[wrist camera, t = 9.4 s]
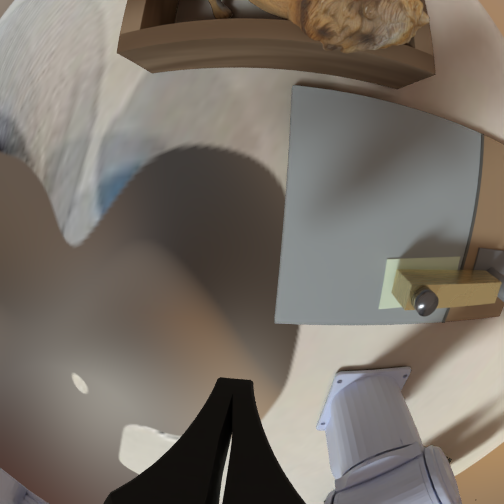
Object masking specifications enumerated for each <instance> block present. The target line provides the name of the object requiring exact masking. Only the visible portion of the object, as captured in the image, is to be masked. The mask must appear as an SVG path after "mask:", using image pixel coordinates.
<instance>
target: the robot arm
mask: <svg viewBox="0 0 504 504" xmlns="http://www.w3.org/2000/svg"><path fill="white" fill-rule="evenodd" d="M410 373H411V368H410V367H399V368H388V369H376V370H361V371H341V372H338V373H337V374H336V375H335V377H334V380H333V383H332V386H331V389H330V392H329V394H328V397H327V400H326V403H325V405H324V408H323V411H322V413H321V416H320V418H319V421H318V423H317V426H316V429H317V430H320V431H321V430H325V433H326V439H327V446H328V453H329V460H330V468H331V472H332V474H333V476H334V478H335V479H336V480H335V487H336V489H335V490H333V491H331V492H330V493H329V494H328V496H327V498H326V501H325V503H324V504H462V502H461V498H460V495H459V491H458V486H457V483H456V480H455V477H454V474H453V471H452V469H451V466H450V464H449V462H448V460H447V458H446V456H445V454H444V452H443V451H442V449H441V448H440V447H437V446H433V445H430V446H428V447H426V448H425V447H424V446H423V444H422V441H421V438H420V436H419V433H418V431H417V428H416V426H415V423H414V421H413V418H412V416H411V414H410V411H409V409H408V406H407V404H406V402H405V399H404V397H403V395H402V393H401V390H402V388H403V386H404V384H405V382H406V380H407V378H408V377H409V375H410ZM338 380H339V381H338ZM231 435H232V445H231V452H230V458H229V465H228V472H227V478H226V485H225V491H224V497H223V503H222V504H306V503H305V502H304V501H303V499H302V498H301V497H300V495H299V494H298V493H297V491H296V490H295V489H294V487H293V486H292V484H291V483H290V481H289V480H288V478H287V477H286V475H285V473H284V472H283V470H282V468H281V466H280V465H279V463H278V461H277V459H276V457H275V455H274V453H273V451H272V449H271V447H270V444H269V442H268V440H267V437H266V435H265V432H264V429H263V427H262V424H261V420H260V417H259V414H258V410H257V406H256V402H255V397H254V389H253V381H251V380H243V379H230V378H221V377H220V378H218V379H217V382H216V384H215V387H214V389H213V391H212V393H211V394H210V396H209V398H208V400H207V401H206V403H205V405H204V406H203V408H202V409H201V411H200V412H199V414H198V415H197V417H196V418H195V420H194V421H193V422H192V424H191V425H190V426H189V428H188V429H187V430H186V431H185V433H184V434H183V435H182V436H181V437H180V439H179V440H178V441H177V442H176V443H175V444H174V445H173V446H172V447H171V448H170V449H169V450H168V451H167V452H166V453H165V454H164V455H163V456H162V457H161V458H160V459H159V460H157V461H156V462H155V463H154V464H153V465H152V466H150V467H149V468H148V469H146V470H145V471H144V472H142V473H141V474H140V475H138V476H137V477H136V478H134V479H133V480H131V481H129V482H128V483H126V484H125V485H123V486H121V487H119V488H118V489H116V490H114V491H112V492H111V493H110V494H109V495H108V497H107V498H106V500H105V502H104V504H219V497H220V489H221V481H222V475H223V470H224V465H225V461H226V457H227V453H228V448H229V444H230V439H231ZM0 504H49V503H47V502H45V501H44V500H42V499H41V498H39V497H38V496H36V495H35V494H33V493H32V492H30V491H29V490H27V488H26V487H24V486H23V485H22V484H20V483H19V482H18V481H16V480H15V479H14V478H12V477H11V476H10V475H9V474H7V473H6V472H5V471H4V470H3V469H1V468H0Z"/></svg>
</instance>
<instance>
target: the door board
mask: <svg viewBox="0 0 504 504" xmlns="http://www.w3.org/2000/svg"><path fill="white" fill-rule="evenodd" d="M397 269H417V270H486V271H487V272H489V273H490V274H491V275H493V276H494V277H495V278H497V279H498V280H499V281H501V282H502V284H501V287H500V290H499V293H498V296H497V298H496V301H495V303H491V304H482V305H473V306H462V307H450V308H437V309H436V310H435V311H434V312H433V313H432V314H430V315H429V316H425V317H423V316H420V315H419V314H418V312H417V311H416V310H404V309H403V308H402V306H401V305H400V304H399V302H398V301H397V300H396V298H395V297H394V296H393V294H392V293H391V292H392V288H393V283H394V279H395V275H396V270H397ZM503 306H504V144H502V143H500V142H498V141H496V140H494V139H492V138H490V137H487V136H485V135H484V134H481V133H479V132H476V131H474V130H472V129H469V128H467V127H465V126H462V125H460V124H457V123H455V122H452V121H449V120H447V119H444V118H441V117H438V116H435V115H433V114H430V113H427V112H423V111H420V110H417V109H414V108H410V107H407V106H403V105H400V104H396V103H392V102H388V101H384V100H380V99H376V98H371V97H367V96H362V95H357V94H352V93H346V92H341V91H335V90H328V89H321V88H314V87H305V86H296V85H293V86H292V95H291V117H290V136H289V153H288V169H287V184H286V198H285V211H284V223H283V236H282V247H281V258H280V269H279V280H278V290H277V300H276V310H275V323H281V324H282V323H283V324H306V325H394V324H418V323H435V322H442V323H444V322H449V321H461V320H471V319H481V318H489V317H497V316H500V314H501V311H502V309H503Z"/></svg>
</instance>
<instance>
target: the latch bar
mask: <svg viewBox="0 0 504 504" xmlns="http://www.w3.org/2000/svg"><path fill="white" fill-rule="evenodd" d="M501 284H502V282H501V281H499V280H498V279H497V278H495V277H494V276H493V275H491V274H490V273H489V272H487V271H486V270H417V269H397V270H396V275H395V279H394V283H393V288H392V292H391V293H392V294H393V296H394V297H395V298H396V300H397V301H398V302H399V304H400V305H401V306H402V308H403V309H404V310H416V311H417V312H418V314H419V315H420V316H423V317H425V316H429V315H430V314H432V313H433V312H434V311H435V310H436V309H437V308H450V307H462V306H473V305H482V304H491V303H495V301H496V298H497V296H498V293H499V290H500V287H501Z"/></svg>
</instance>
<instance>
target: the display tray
mask: <svg viewBox="0 0 504 504" xmlns="http://www.w3.org/2000/svg"><path fill="white" fill-rule="evenodd" d="M420 1H421V2H422V3H423V11H424V12H425V13H426V14H427V9H426V5H425V0H420ZM177 5H178V0H128V1H127V4H126V8H125V13H124V17H123V22H122V26H121V31H120V36H119V42H118V48H117V53H118V54H120V55H121V56H123V57H125V58H127V59H129V60H130V61H132V62H134V63H136V64H137V65H139V66H141V67H142V68H144V69H146V70H147V71H149V72H151V73H158V72H166V71H175V70H185V69H199V68H224V67H248V68H273V69H287V70H297V71H307V72H315V73H322V74H329V75H335V76H341V77H346V78H351V79H356V80H361V81H366V82H370V83H375V84H379V85H383V86H387V87H390V88H394V89H399V88H402V87H404V86H407V85H409V84H412V83H414V82H417V81H419V80H422V79H425V78H427V77H430V76H433V75H435V64H434V54H433V45H432V38H431V31H430V25H429V23H427V24H425V25H424V26H423V27H421V28H420V29H418V30H417V32H416V35H415V36H414V37H412V38H411V39H410V41H409V42H408V43H405V44H402V45H399V46H396V45H392V46H391V47H388V48H386V49H381V48H380V49H377V50H364V51H357V52H352V53H342V52H341V51H340V49H341V48H342V47H338V48H337V49H335V50H332V51H326V50H324V49H323V44H322V43H321V42H320V41H315V40H313V39H311V38H309V37H308V36H307V35H305V34H304V33H303V31H301V29H300V27H299V26H297V25H296V24H294V23H293V22H292V21H291V20H278V19H254V18H235V19H212V20H199V21H189V22H181V23H175V17H176V11H177ZM427 15H428V14H427ZM331 47H333V45H328V47H327V49H328V48H331Z"/></svg>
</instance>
